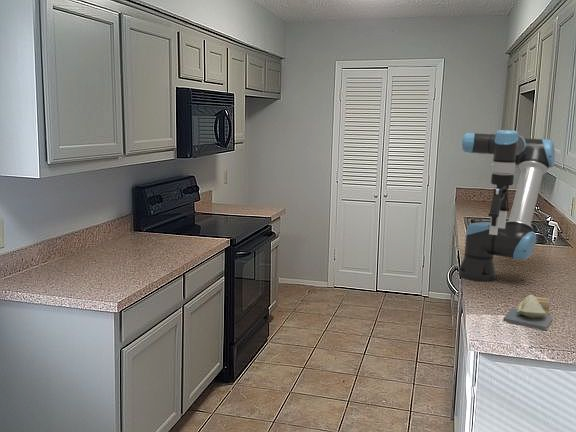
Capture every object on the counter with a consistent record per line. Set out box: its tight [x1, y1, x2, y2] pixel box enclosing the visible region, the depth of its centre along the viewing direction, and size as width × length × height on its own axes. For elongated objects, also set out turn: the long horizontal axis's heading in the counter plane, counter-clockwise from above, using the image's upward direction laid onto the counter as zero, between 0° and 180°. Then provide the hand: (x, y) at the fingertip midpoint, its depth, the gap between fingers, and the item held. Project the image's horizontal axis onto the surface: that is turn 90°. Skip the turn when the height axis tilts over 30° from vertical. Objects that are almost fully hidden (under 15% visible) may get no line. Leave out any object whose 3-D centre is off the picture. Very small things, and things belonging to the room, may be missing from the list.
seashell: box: [516, 294, 546, 318], centre depth 190 cm, size 8×8×8 cm
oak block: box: [534, 296, 550, 315], centre depth 198 cm, size 5×5×5 cm
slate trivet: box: [502, 307, 554, 331], centre depth 190 cm, size 13×13×1 cm
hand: (497, 231), depth 210 cm, fingers open, 13 cm apart
